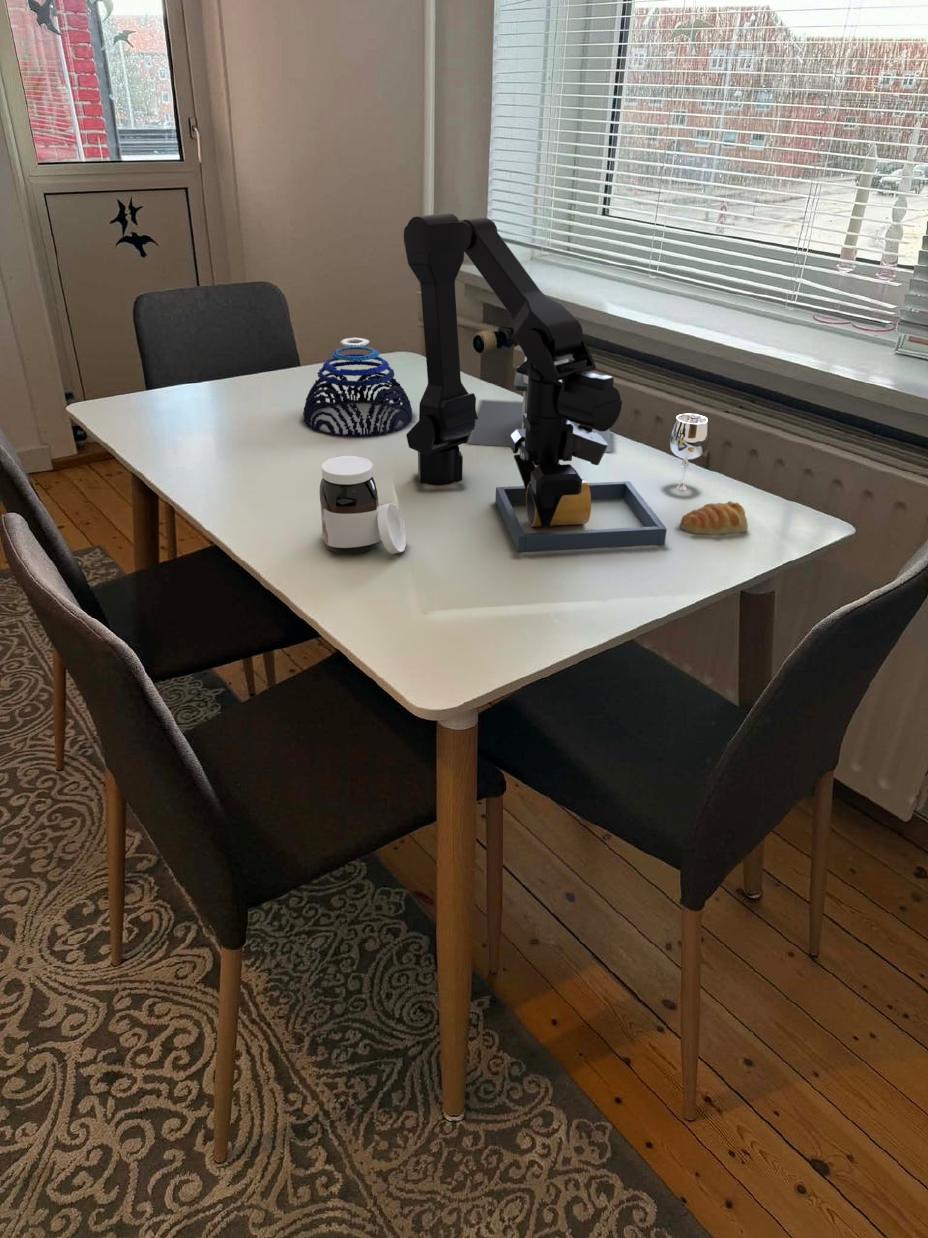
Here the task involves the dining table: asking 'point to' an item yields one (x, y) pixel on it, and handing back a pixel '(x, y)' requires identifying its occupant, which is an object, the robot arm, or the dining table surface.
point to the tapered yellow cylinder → (564, 508)
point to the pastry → (715, 519)
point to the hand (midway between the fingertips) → (540, 516)
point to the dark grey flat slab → (509, 418)
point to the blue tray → (584, 538)
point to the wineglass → (689, 439)
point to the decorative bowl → (362, 382)
